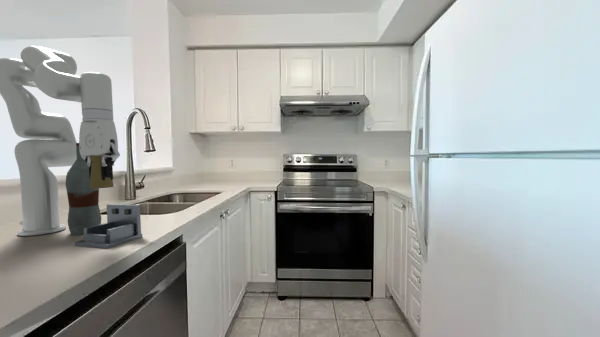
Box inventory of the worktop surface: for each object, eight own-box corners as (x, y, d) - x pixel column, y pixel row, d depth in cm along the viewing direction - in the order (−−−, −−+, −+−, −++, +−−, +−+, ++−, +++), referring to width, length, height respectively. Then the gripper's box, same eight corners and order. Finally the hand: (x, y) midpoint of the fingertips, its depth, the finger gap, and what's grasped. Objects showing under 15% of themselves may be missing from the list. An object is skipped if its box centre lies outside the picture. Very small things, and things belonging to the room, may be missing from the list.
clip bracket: (74, 245, 85) (73, 210, 85) (112, 234, 97) (111, 203, 96) (107, 248, 82) (105, 211, 81) (142, 236, 93) (140, 204, 93)
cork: (101, 188, 84) (99, 149, 83) (83, 188, 85) (81, 149, 85) (118, 186, 90) (117, 149, 89) (102, 186, 91) (100, 150, 91)
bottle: (60, 235, 97) (55, 142, 96) (81, 228, 106) (77, 143, 105) (89, 235, 97) (84, 142, 95) (108, 228, 106) (103, 143, 105)
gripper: (64, 117, 86) (67, 181, 87) (107, 113, 81) (111, 181, 81) (89, 120, 93) (93, 179, 94) (131, 116, 88) (134, 179, 88)
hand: (101, 179), depth 87 cm, fingers closed on cork, 3 cm apart
